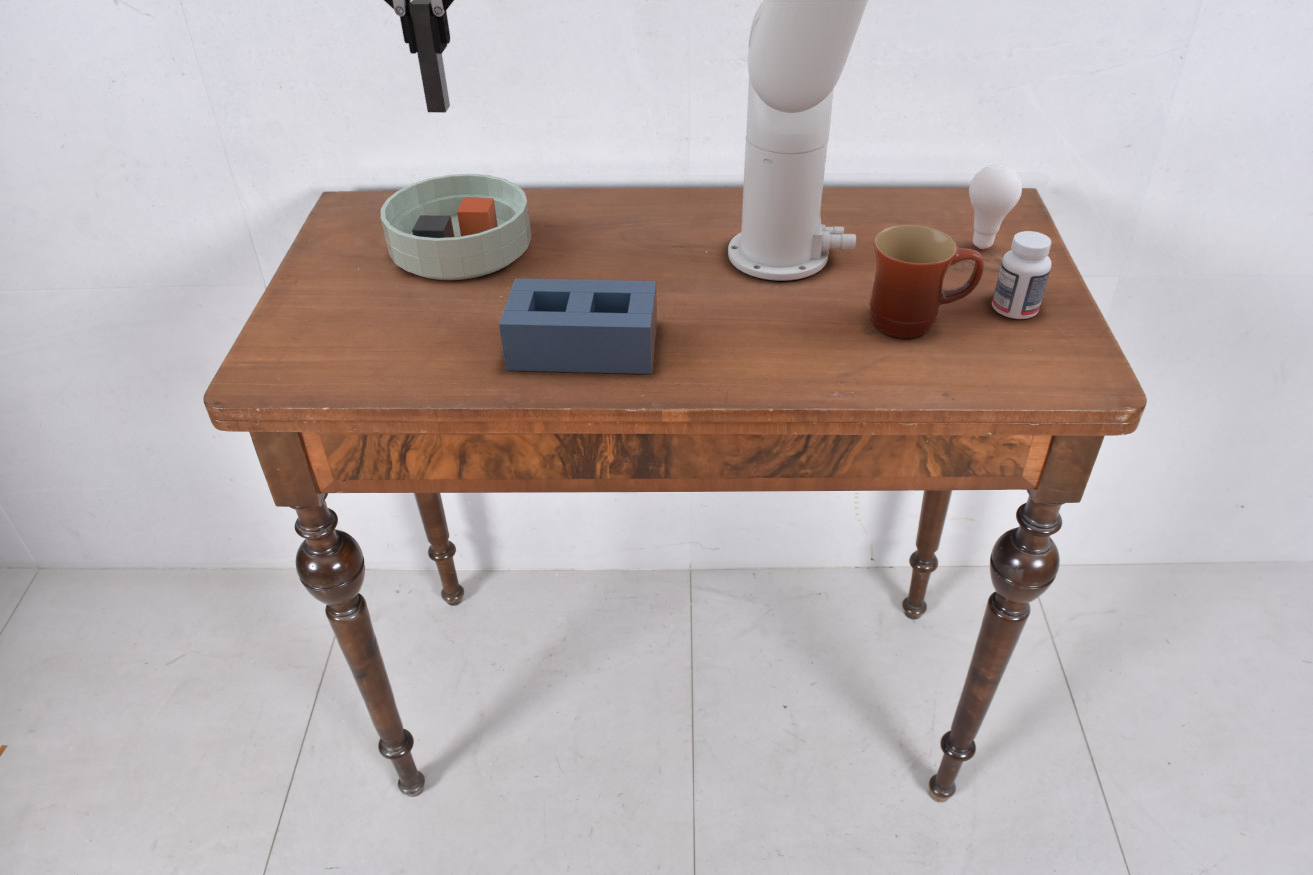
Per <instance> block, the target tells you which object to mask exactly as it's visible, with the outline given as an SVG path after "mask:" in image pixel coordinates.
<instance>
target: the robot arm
mask: <svg viewBox="0 0 1313 875" xmlns="http://www.w3.org/2000/svg"><path fill="white" fill-rule="evenodd" d="M411 1H412V0H383V2H385V3H386V4H387V5H388V6H389V7H391V8H392V10H393V12H394V13H395V15H396V16H398V17H399V20H400V25H401V26H400V27H401V31H402V36H403V41H404V43H405V44H408V48H409V54H412V55H413V54H414V55H415V54H416V55H417V47H416V42H415V36H414V30H413V24H412V19H411V14H410V9H409V4H410V3H411ZM454 1H455V0H431V3H432V16H431V17H430V26H431V32H432V38H433V44H434V50H435V53H437V54H442V55H443V53H444V52H445V50H446V49H447V47H448V45H449V44H450V43H451V32H450V26H449V19H448V12H447V10H448V9H449V8H450V6H451V5H452V4H453V3H454ZM868 2H869V0H763V1H761V3H760V5H759V6H758V7H757V10H756V12H755V14H754V15H753V18H752V22H751V26H750V30H749V40H748V53H747V73H748V90H747V91H748V92H747V106H746V107H747V108H746V110H747V111H746V112H747V113H746V129H745V130H746V131H745V133H746V134H745V144H744V145H745V146H744V166H743V185H742V186H743V187H742V188H743V189H742V207H741V208H742V209H741V210H742V211H741V229H740V230H741V231H740V232H739V233H737V234H736V235H735V236H733V237H732V238H731V240H730V241H729V243H728V248H727V256H728V259H729V262H730V263H731V264H732V265H733V266H734V267H735V268H736V269H737V270H739V271H741V272H742V273H744V274H746V275H749V276H751V277H754V278H757V279H762V280H769V281H779V282H780V281H783V282H784V281H795V280H801V279H804V278H809V277H810V276H813V275H815V274H816V273H818V272H820V271H821V270H822V269H823V268H824V267H826V265H827V263H828V262H829V261H828V260H829V255H830V253H829V252H830V250H841V251H843V250H845V251H854V250H856V246H857V234H856V233H845V227H844V226H826V224H822V216H821V211H822V209H821V208H822V201H823V200H822V199H823V192H824V191H823V189H824V182H825V181H824V180H825V179H824V178H825V171H826V162H827V152H828V143H829V139H830V128H831V120H832V108H833V98H834V89H835V87H836V86H837V84H838V82H839V80H840V78H841V75H842V73H843V72H844V68H845V66H846V63H847V61H848V57H849V55H850V52H851V49H852V47H853V44H854V41H855V38H856V35H857V33H858V30H859V27H860V24H861V21H862V18H863V15H864V13H865V10H866V7H867V4H868Z"/></svg>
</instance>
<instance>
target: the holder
mask: <svg viewBox="0 0 1313 875" xmlns="http://www.w3.org/2000/svg"><path fill="white" fill-rule="evenodd" d="M657 298H658V295H657V281H656V280H623V279H620V280H619V279H573V278H572V279H571V278H570V279H569V278H568V279H567V278H563V279H562V278H519V277H518V278H517V277H516V278H514V280H513V283H512V286H511V288H510V291H509V294H508V296H507V300H506V302H505V306H504V308H503V311H502V314H501V317H500V320H499V323H498V327H499V334H500V341H501V348H502V353H503V354H502V355H503V359H504V366H505V371H510V372H512V371H514V372H516V371H517V372H550V373H551V372H554V373H559V372H560V373H594V374H595V373H597V374H630V375H631V374H632V375H634V374H635V375H636V374H638V375H652V374H653V373H652V372H653V368H654V367H653V366H654V357H655V347H656V341H657V340H656V338H657V330H658V304H657V303H658V299H657Z"/></svg>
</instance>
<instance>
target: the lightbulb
mask: <svg viewBox="0 0 1313 875" xmlns="http://www.w3.org/2000/svg"><path fill="white" fill-rule="evenodd" d="M1022 193H1023V184H1022V180H1021V178H1020V175H1019V174H1018V172H1017V171H1016V170H1015V169H1013V168H1012V167H1011V166H1008V165H1005V164H1002V163H1001V164H1000V163H996V164H990V165H987V166H985V167H983V168H981V169H980V170H978V172H976V174H974V176H973V177H972V179H971V181H970V183H969V186H968V198H969V200H970V204H971V207H972V210H973V215H974V217H973V218H974V219H973V236H972V244H973V245H974V246H975V247H977V249H979V250H985V249H989V248H991V247H993V245H994V242H995V239H996V236H997V233H998V232H1000V230H1001V229H1000V228H1001V225H1002V223H1003V221H1004V219H1005V218H1006V217H1007V215H1008V214H1009V213H1010V212H1011V211H1012V210H1013V209H1014V208H1015V206H1016V205H1017V204H1018V203H1019V200H1020V199H1021V197H1022Z"/></svg>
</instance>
